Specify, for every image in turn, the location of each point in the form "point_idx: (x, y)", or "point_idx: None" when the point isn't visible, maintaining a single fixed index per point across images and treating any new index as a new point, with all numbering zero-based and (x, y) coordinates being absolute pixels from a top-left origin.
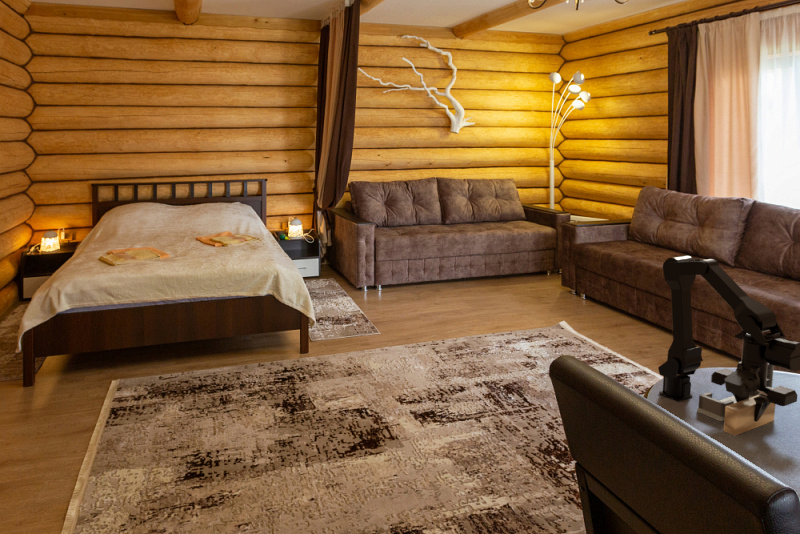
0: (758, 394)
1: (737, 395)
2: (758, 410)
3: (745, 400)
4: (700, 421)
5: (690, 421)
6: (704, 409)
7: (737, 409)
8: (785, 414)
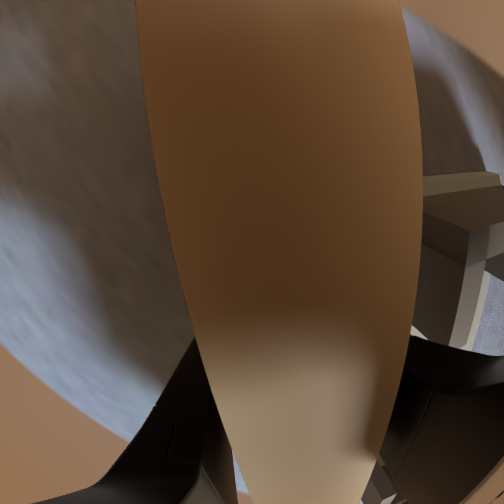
0: (386, 480)
1: (484, 380)
2: (162, 409)
3: (373, 419)
4: (420, 67)
5: (433, 26)
6: (484, 187)
7: None
8: None
